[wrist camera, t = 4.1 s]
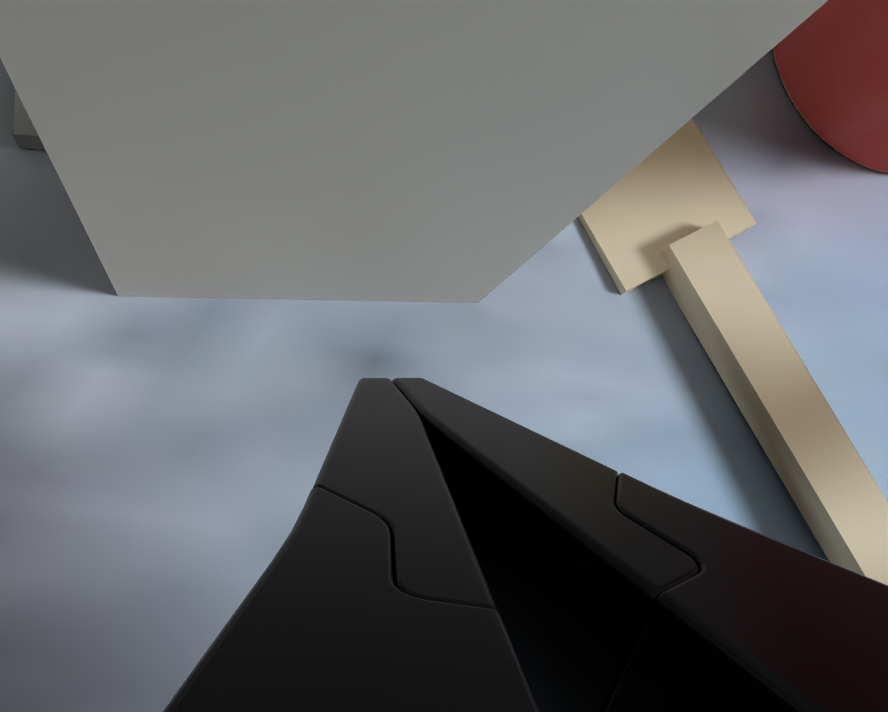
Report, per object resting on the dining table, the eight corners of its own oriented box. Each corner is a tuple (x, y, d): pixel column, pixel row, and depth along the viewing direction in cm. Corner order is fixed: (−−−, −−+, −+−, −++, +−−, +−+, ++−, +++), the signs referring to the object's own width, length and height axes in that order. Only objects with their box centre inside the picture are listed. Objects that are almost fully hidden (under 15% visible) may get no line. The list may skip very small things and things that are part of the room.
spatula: (977, 611, 19) (1013, 615, 18) (855, 705, 18) (886, 716, 17) (636, 50, 21) (652, 28, 20) (506, 104, 19) (516, 82, 18)
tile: (477, 303, 17) (838, -9, 7) (117, 296, 15) (-116, -177, 5) (470, 204, 18) (796, -220, 8) (121, 183, 16) (-86, -462, 5)
